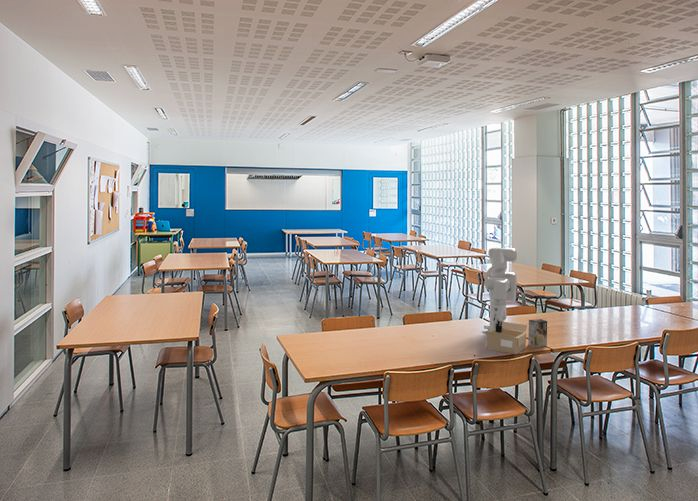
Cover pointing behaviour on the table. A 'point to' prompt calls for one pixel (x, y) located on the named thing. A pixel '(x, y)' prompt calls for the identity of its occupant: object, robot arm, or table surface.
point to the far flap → (514, 326)
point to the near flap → (500, 334)
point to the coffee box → (537, 333)
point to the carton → (507, 341)
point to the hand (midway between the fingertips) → (498, 332)
